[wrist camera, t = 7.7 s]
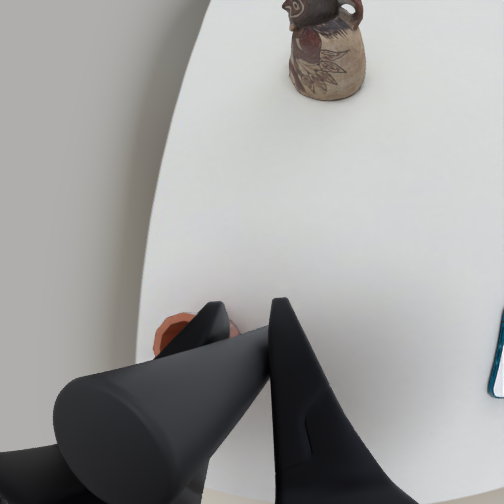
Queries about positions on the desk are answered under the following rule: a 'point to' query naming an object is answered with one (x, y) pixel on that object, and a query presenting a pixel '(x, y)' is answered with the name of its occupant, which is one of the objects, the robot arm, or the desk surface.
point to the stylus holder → (178, 330)
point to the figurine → (326, 48)
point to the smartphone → (498, 369)
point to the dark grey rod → (158, 418)
